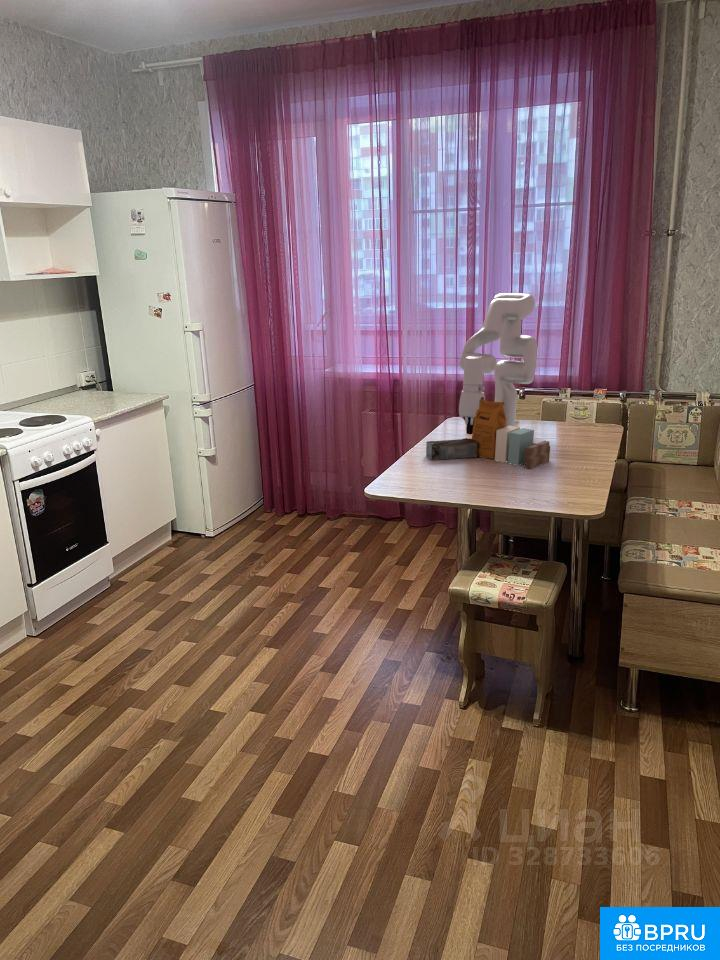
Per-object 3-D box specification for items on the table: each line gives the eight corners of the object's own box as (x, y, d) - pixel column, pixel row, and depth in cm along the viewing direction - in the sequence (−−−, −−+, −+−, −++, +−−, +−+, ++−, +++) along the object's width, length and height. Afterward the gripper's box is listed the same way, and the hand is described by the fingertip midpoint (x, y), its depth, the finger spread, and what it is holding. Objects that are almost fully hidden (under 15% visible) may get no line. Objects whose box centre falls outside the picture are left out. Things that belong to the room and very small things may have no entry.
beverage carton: (425, 455, 290) (425, 439, 288) (471, 452, 294) (472, 436, 292) (431, 460, 283) (431, 444, 281) (478, 458, 287) (479, 441, 285)
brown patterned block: (504, 452, 295) (505, 432, 293) (549, 461, 282) (550, 441, 280) (483, 459, 285) (484, 439, 282) (528, 469, 272) (530, 448, 269)
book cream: (507, 455, 291) (509, 425, 287) (517, 457, 288) (519, 427, 284) (494, 460, 283) (496, 430, 280) (505, 462, 281) (507, 431, 277)
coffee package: (482, 449, 298) (485, 396, 292) (507, 456, 289) (511, 400, 283) (466, 454, 292) (469, 399, 285) (491, 460, 283) (494, 404, 276)
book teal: (521, 458, 287) (523, 428, 283) (531, 460, 284) (534, 429, 280) (507, 463, 280) (509, 432, 276) (518, 465, 277) (520, 434, 273)
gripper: (494, 389, 287) (491, 435, 292) (462, 384, 297) (460, 429, 302) (483, 391, 282) (480, 438, 287) (451, 387, 291) (449, 432, 297)
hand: (470, 433), depth 295 cm, fingers closed
